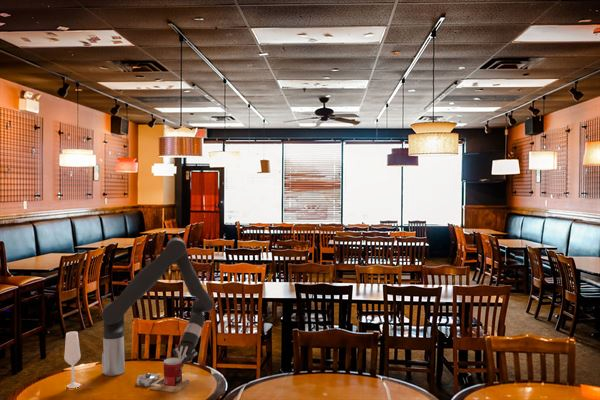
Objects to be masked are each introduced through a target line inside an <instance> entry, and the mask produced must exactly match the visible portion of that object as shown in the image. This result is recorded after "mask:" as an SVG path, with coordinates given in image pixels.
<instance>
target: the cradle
mask: <svg viewBox="0 0 600 400" xmlns="http://www.w3.org/2000/svg"><path fill="white" fill-rule="evenodd" d="M189 384H190V379H184V380H182V382H181V383H180V384H178V385H177V386H175V387H174V386H167V385H164V376H163V377H161V378H159V380H157V381H156V382H154V383H152V384H151V385H150V386H149V387H150V389H151V390H156V391H163V392H169V393H170V392H171V393H179V391H181V390H182V389H184V388H185V387H186V386H188V385H189Z"/></svg>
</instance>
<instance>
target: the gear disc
mask: <svg viewBox="0 0 600 400" xmlns="http://www.w3.org/2000/svg"><path fill="white" fill-rule="evenodd" d="M159 379H160V374H158V373H152V372H146V373H145V374H140V375H137V379H136V386H138V387H139V386H143V387H146V388H147V387H150V385H151V384H152V383H154V382H156V381H157V380H159Z"/></svg>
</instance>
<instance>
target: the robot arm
mask: <svg viewBox="0 0 600 400" xmlns="http://www.w3.org/2000/svg"><path fill="white" fill-rule="evenodd" d="M174 264H176V265H177V268H178V269H179V271H180V275H181V277H182V279H183V282H184V284H185V286H186V289H187V291H188V293H189V295H190V296H191V297H195V298H196V299H195V300H194V301H193V303H192V305H191V310H190V318H189V320H188V323H187V325H186V327H185V329H184V331H183V334H182V336H181V339H180V344H178V346H177V347H175V348H172V350H171V351H172V353H173V358H180V359H181V360H182V369H183V367H184V365H185V364H186V363H190V362H191V361H192V360H193V359H194V358H196V356H198V355H199V354H198V352H197V351H196V346H197V344H198V343H199V339H200V337H201V333H202V329H203V326H204V324H205V321H206V317H204V315H203V313H207V312H211V311H212V310H213V308H214V301H213V298H212V297H211V295H210V294H209V293H208V292H207V290H206V289H205V288H204V287H203V284H202V282H201V280H200V278H199V276H198V274H197V272H196V270H195V269H194V267H193V265H192V262H191V261H190V258H189V256H188V251H187V244H186V243H185V241H184V240H183V239H182V238H179V237H172V238H170V239H169V240H168V241H167V243H166V247H165V248H164V249H163V250H162V252H160V254H159V255H158V256H157V257H156V258H155V259H153V260H152V261H151V262H149V263H148V264H147V265H146V266H144V267H143V268H142V269H141V270H140V271H139V272H138V273H137V274H136V275H135V276H133V278H132V279H131V281H130V282H129V283H128V284H127V286H126V287H125V288H124V290H123V291H122V292H121V294H120V295H118V296H117V297H116V298H115V299H114V300H112V301H110V302H108V303H107V304H105V306H104V308H103V309H102V312H101V318H102V319H101V320H102V321H103V331H102V337H103V338H102V341H103V342H102V343H103V352H102V353H101V366H102V368H101V370H102V371H101V372H102V374H104V376H108V377H109V376H119V375H122V374H123V373H125V372H126V371H125V370H126V369H125V368H126V367H125V339H124V338H125V337H124V336H125V335H124V334H125V332H124V331H125V314H126V313H127V311H128V310H129V309H130V308H131V307H132V306H133V305H134V304H135V303H136V302H137V301H139V300H140V299H141V298H142V297H143V296H144V295H145V294H147V293H148V292H149V291H150V290H151V288H153V286H154V285H155V284H156V283H157V282H159V280H160V279H161V278H162V276H164V274H165V273H166V272H167V271H168V269H169V268H170V267H171V266H172V265H174Z"/></svg>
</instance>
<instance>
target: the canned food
mask: <svg viewBox="0 0 600 400" xmlns="http://www.w3.org/2000/svg"><path fill="white" fill-rule="evenodd" d="M163 377H164V383H163V385H167V386H174V387H175V386H177V385H178V384H180V383H181V382H183V368H182V360H181V359H180V358H175V357H169V358H166V359H164V360H163Z"/></svg>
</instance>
